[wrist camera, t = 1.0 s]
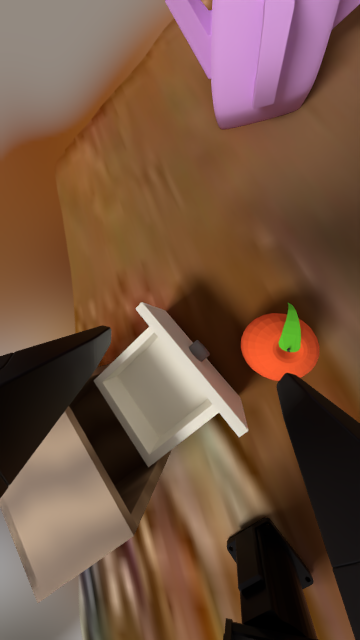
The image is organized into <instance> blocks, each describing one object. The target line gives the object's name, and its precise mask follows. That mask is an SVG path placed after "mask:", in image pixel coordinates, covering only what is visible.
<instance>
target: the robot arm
mask: <svg viewBox="0 0 360 640" xmlns="http://www.w3.org/2000/svg"><path fill="white" fill-rule="evenodd" d="M110 343H111V328H110V327H107V326H99V327H96V328H92V329H89V330H86V331H82V332H79V333H76V334H72V335H69V336H66V337H62V338H59V339H56V340H52V341H49V342H46V343H43V344H39V345H36V346H33V347H29V348H26V349H23V350H19V351H16V352H14V353H10V354H6V355H3V356H0V498H1V497H2V496H3V494H4V493H5V492H6V490H7V489H8V487H9V485H11V483H12V482H13V481H14V479H15V478H16V477H17V475H18V474H19V472H20V471H21V470H22V468H23V467H24V466H25V464H26V463H27V462H28V460H29V459H30V458H31V456H32V455H33V454H34V452H35V451H36V449H37V448H38V447H39V445H40V444H41V443H42V441H43V440H44V439H45V437H46V436H47V435H48V433H49V432H50V431H51V429H52V428H53V427H54V425H55V424H56V422H57V421H58V420H59V418H60V417H61V416H62V414H63V413H64V412H65V410H66V409H67V408H68V406H69V405H70V404H71V402H72V401H73V400H74V398H75V397H76V395H77V394H78V393H79V391H80V390H81V389H82V387H83V386H84V385H85V383H86V382H87V381H88V379H89V378H90V377H91V375H92V374H93V372H94V371H95V369H96V368H97V366H98V364H99V363H100V361H101V359H102V357H103V356H104V354H105V352H106V351H107V349H108V347H109V345H110ZM277 391H278V396H279V400H280V405H281V409H282V414H283V418H284V421H285V424H286V428H287V431H288V434H289V437H290V440H291V443H292V446H293V449H294V452H295V455H296V458H297V461H298V464H299V467H300V470H301V473H302V477H303V480H304V483H305V486H306V489H307V492H308V495H309V498H310V501H311V504H312V507H313V510H314V513H315V516H316V519H317V523H318V526H319V529H320V532H321V535H322V538H323V541H324V544H325V547H326V550H327V553H328V556H329V559H330V562H331V565H332V567H333V568H332V569H333V572H334V575H335V578H336V581H337V584H338V588H339V591H340V594H341V597H342V600H343V603H344V606H345V609H346V612H347V615H348V618H349V621H350V624H351V627H352V631H353V634H354V637H355V640H360V423H359V422H357V421H356V420H355V419H353V418H352V417H351V416H349V415H348V414H347V413H345V412H344V411H343V410H341V409H340V408H339V407H337V406H336V405H335V404H333V403H332V402H331V401H330V400H328V399H327V398H326V397H324V396H323V395H322V394H320V393H319V392H318V391H316V390H315V389H314V388H312V387H311V386H310V385H308V384H307V383H306V382H305V381H303V380H302V379H301V378H299V377H298V376H297V375H295V374H291V373H285V374H284V375H283V377H282V378H281V379H280V381H279V382H278V383H277ZM267 524H269V525H267ZM227 550H228V551H229V553H230V554H231V556H232V557H233V559H234V560H235V562H236V563H237V576H238V589H239V591H240V600H241V616H242V624H241V623H237V622H233V621H232V619H227V618H226V624H225V633H224V636H223V640H318V639H317V636H316V632H315V629H314V626H313V623H312V619H311V616H310V613H309V609H308V606H307V603H306V600H305V596H304V593H303V590H302V589H304V588H306V587H308V586H310V585H312V584H313V578H312V575H311V573H310V571H309V570H308V569H307V567H306V566H305V565H304V563H303V562H302V561H301V559H300V558H299V557H298V556H297V554H296V553H295V552H294V550H293V549H292V548H291V546H290V545H289V544H288V542H287V541H286V540H285V538H284V537H283V536H282V534H281V533H280V532H279V530H278V529H277V528H276V526H275V525H274V524H273V523H272V521H271V520H270V519H269V518H263V519H262V520H260V521H258V522H257V523H255V524H254V525H252V526H250V527H249V528H247V529H245V530H244V531H242V532H241V533H239V534H237V535H236V536H234V537H232V538H231V539H229V540H228V541H227Z"/></svg>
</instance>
